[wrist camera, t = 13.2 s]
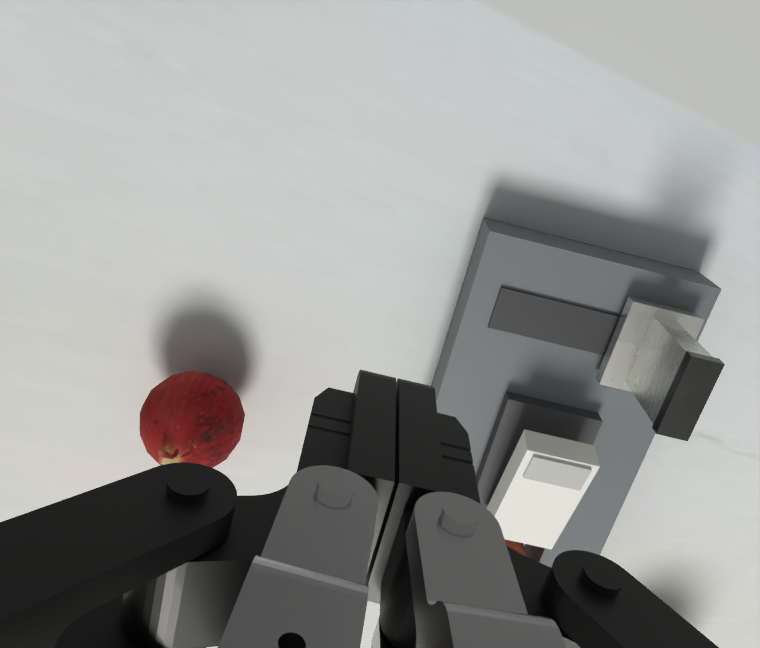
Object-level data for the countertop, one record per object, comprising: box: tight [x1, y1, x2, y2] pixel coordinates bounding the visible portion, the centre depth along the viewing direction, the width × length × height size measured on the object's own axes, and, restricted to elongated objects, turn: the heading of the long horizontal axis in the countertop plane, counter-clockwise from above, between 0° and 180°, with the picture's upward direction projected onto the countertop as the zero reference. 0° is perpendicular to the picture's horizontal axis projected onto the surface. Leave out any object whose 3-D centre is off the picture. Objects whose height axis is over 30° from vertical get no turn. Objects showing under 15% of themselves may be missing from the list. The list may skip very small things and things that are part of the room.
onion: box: [140, 371, 245, 468], centre depth 40 cm, size 6×6×8 cm
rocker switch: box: [486, 429, 600, 550], centre depth 39 cm, size 4×7×2 cm, turn 166°
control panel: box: [375, 218, 721, 603], centre depth 43 cm, size 13×26×4 cm, turn 166°
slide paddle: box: [596, 297, 724, 441], centre depth 35 cm, size 4×5×6 cm
